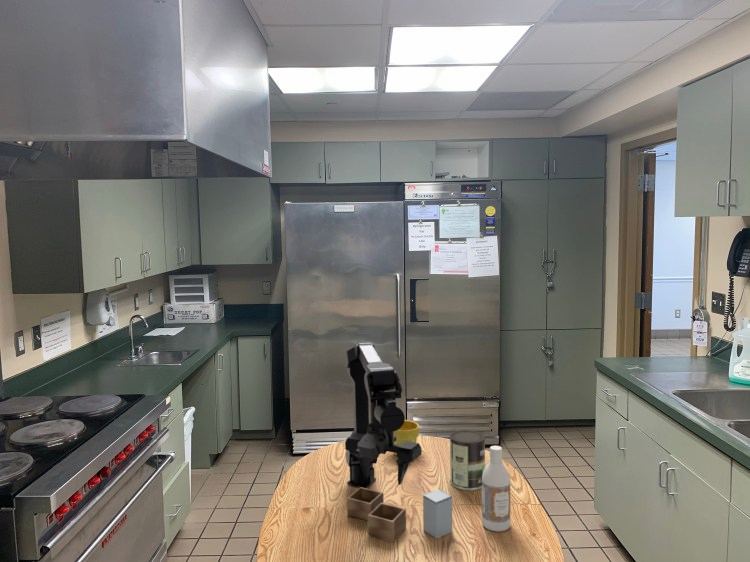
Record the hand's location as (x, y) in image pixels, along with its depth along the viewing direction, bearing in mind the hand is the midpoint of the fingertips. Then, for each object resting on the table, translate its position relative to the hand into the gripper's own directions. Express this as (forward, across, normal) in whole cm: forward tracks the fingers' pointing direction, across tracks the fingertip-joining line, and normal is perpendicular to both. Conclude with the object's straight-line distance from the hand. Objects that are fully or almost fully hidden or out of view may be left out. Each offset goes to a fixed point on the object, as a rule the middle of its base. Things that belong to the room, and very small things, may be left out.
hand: (383, 480), depth 131 cm
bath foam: (+13, +24, +15) cm, 31 cm away
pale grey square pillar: (+13, +12, +6) cm, 18 cm away
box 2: (+13, +1, 0) cm, 13 cm away
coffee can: (+12, +9, +34) cm, 38 cm away
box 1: (+12, -8, +5) cm, 16 cm away
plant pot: (+12, -17, +45) cm, 49 cm away
